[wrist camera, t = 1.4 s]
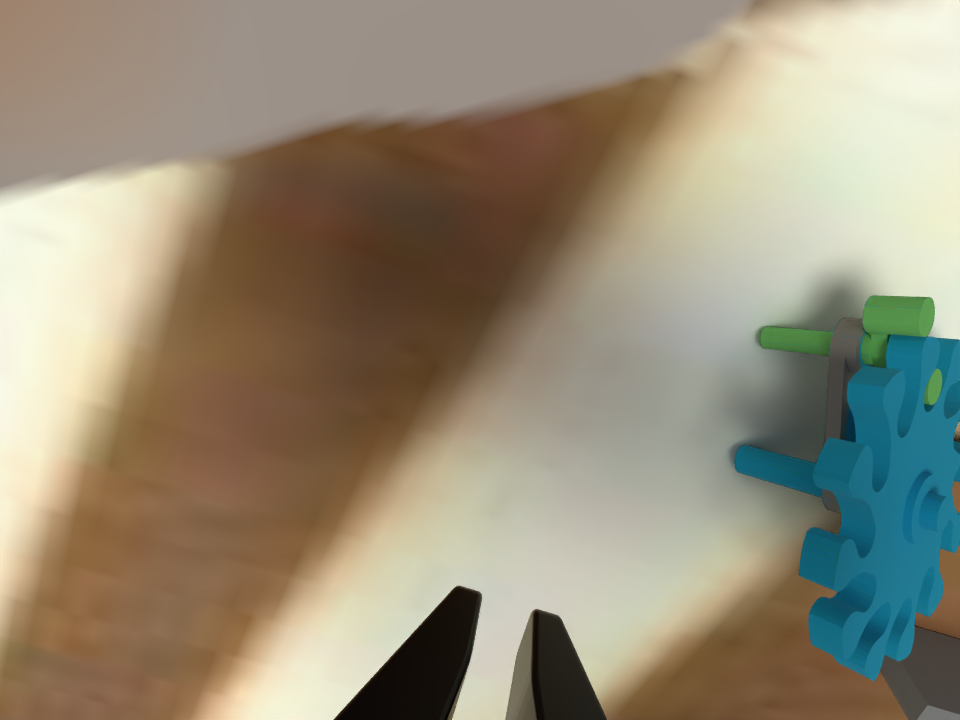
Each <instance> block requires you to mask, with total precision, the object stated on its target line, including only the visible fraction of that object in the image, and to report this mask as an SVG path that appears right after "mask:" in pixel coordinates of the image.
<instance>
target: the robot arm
mask: <svg viewBox="0 0 960 720" xmlns="http://www.w3.org/2000/svg"><path fill="white" fill-rule="evenodd" d="M481 601H482V594H481V593H480V592H479V591H476V590H473V589H469V588H466V587H463V586H456V587H455V588H454V589H453V590H452V591H451V592H450V593H449V594H448V595H447V596H446V597H445V598H444V600H443V601H442V602H441V603H440V604H439V605H438V606H437V607H436V608H435V609H434V610H433V612H432V613H431V614H430V615H429V616H428V617H427V618H426V619H425V620H424V621H423V623H422V624H421V625H420V626H419V627H418V628H417V629H416V630H415V631H414V632H413V633H412V635H411V636H410V637H409V638H408V639H407V640H406V641H405V642H404V643H403V644H402V645H401V647H400V648H399V649H398V650H397V651H396V652H395V653H394V654H393V655H392V656H391V657H390V659H389V660H388V661H387V662H386V663H385V664H384V665H383V666H382V667H381V668H380V669H379V671H378V672H377V673H376V674H375V675H374V676H373V677H372V678H371V679H370V680H369V681H368V683H367V684H366V685H365V686H364V687H363V688H362V689H361V690H360V691H359V692H358V694H357V695H356V696H355V697H354V698H353V699H352V700H351V701H350V702H349V703H348V704H347V706H346V707H345V708H344V709H343V710H342V711H341V712H340V713H339V714H338V715H337V716H336V718H335V719H334V720H452V717H453V714H454V711H455V708H456V704H457V701H458V698H459V695H460V692H461V688H462V685H463V682H464V679H465V675H466V672H467V669H468V666H469V663H470V659H471V655H472V651H473V646H474V640H475V635H476V629H477V623H478V618H479V612H480V607H481ZM505 720H607V718H606V716H605V714H604V712H603V710H602V707H601V705H600V703H599V701H598V699H597V696H596V694H595V692H594V690H593V688H592V685H591V683H590V681H589V679H588V677H587V674H586V672H585V670H584V668H583V665H582V663H581V661H580V659H579V657H578V654H577V652H576V650H575V648H574V646H573V643H572V641H571V639H570V637H569V635H568V632H567V630H566V628H565V626H564V624H563V621H562V619H561V618H560V617H559V616H558V615H555V614H552V613H549V612H546V611H542V610H539V609H535V610H533V611H532V613H531V615H530V618H529V620H528V623H527V626H526V629H525V632H524V635H523V638H522V640H521V643H520V646H519V649H518V653H517V657H516V661H515V667H514V673H513V679H512V684H511V690H510V696H509V702H508V708H507V714H506V719H505Z"/></svg>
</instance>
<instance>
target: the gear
mask: <svg viewBox="0 0 960 720" xmlns="http://www.w3.org/2000/svg"><path fill="white" fill-rule="evenodd" d="M934 315H935V307H934V302H933V299H932V298H930V297H904V296H871V297H869V299H868V300H867V302H866V304H865V307H864V310H863V319H857V318H843V319H842V320H840V321H839V323H838V324H837V325H836V327H835V329H834V332H828V331H815V330H803V329H790V328H778V327H765V328H764V329H763V330H762V333H761V336H760V343H761V346H762V347H763V348H765V349H774V350H783V351H792V352H801V353H810V354H819V355H828V356H829V375H828V395H827V414H826V433H825V445H824V447H823V449H822V451H821V453H820V455H819V457H818V460H817V462H816V463H814V462H810V461H806V460H802V459H798V458H794V457H790V456H786V455H782V454H778V453H774V452H771V451H767V450H763V449H759V448H755V447H751V446H747V445H743V446H741V447H740V448H739V450H738V451H737V453H736V456H735V462H734V463H735V469H736V471H737V472H739V473H742V474H745V475H749V476H752V477H755V478H759V479H762V480H765V481H769V482H772V483H775V484H779V485H782V486H785V487H789V488H792V489H795V490H799V491H802V492H805V493H809V494H812V495H815V496H819V497H822V498H823V503H824V506H825V507H826V508H827V509H828V510H832V511H835V512H838V513H841V517H842V521H841V528H840V531H839V534H838V535H837V534H834V533H831V532H828V531H825V530H822V529H819V528H816V527H813V528H811V529H809V530H808V531H807V533H806V537H805V540H804V543H803V548H802V553H801V559H800V567H799V575H800V576H801V577H803V578H805V579H808V580H810V581H812V582H815V583H817V584H820V585H822V586H824V587H827V588H829V589H832V590H834V591H837V594H836V595H835V596H834V597H833V598H826V597H821V598H819V599H818V600H817V601H816V602H815V603H814V604H813V606H812V608H811V610H810V612H809V620H808V622H809V634H810V639H811V644H812V645H813V646H815V647H817V648H819V649H821V650H823V651H825V652H827V653H829V654H831V655H833V656H834V658H835V660H836V661H837V662H838V663H840V664H842V665H843V666H845V667H847V668H849V669H851V670H853V671H855V672H857V673H859V674H861V675H863V676H865V677H867V678H869V679H871V680H873V681H875V679H876V678H877V676H878V674H879V672H880V669H881V666H882V663H883V658H884V655H886V656H888V657H890V658H892V659H894V660H897V661H901V660H903V659H905V658H906V657H907V656H909V655H910V653H911V650H912V646H913V642H914V625H915V614H916V612H918V613H920V614H923V615H925V616H928V617H929V616H930V615H931V614H932V613H933V612H934V610H935V609H936V607H937V606H938V604H939V602H940V600H941V598H942V595H943V580H942V578H941V575H940V568H939V556H940V549H943V550H947V551H950V552H953V553H955V552H956V550H957V548H958V546H959V544H960V513H957V511H956V509H955V507H954V502H953V496H952V485H953V481H957V482H960V442H956V441H954V433H955V429H956V426H957V424H958V422H960V380H959V379H960V340H958V339H945V338H934V337H926V336H927V335H928V334H929V332H930V330H931V328H932V325H933V321H934ZM874 366H876V367H874Z"/></svg>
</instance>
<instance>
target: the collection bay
mask: <svg viewBox="0 0 960 720" xmlns="http://www.w3.org/2000/svg"><path fill="white" fill-rule="evenodd" d="M880 671H881V673H882V675H883V677H884V678H885V680H886V682H887V683H888V685H889V687H890V688H891V690H892V692H893V694H894V695H895V697H896V699H897V700H898V702H899V704H900V706H901V707H902V709H903V711H904V712H905V714H906V716H907V718H908V719H909V720H960V639H957V638H953V637H950V636H947V635H943V634H940V633H936V632H933V631H929V630H926V629H923V628H919V627H916V626H914V642H913V646H912V650H911V653H910V655H909V656H907V657H906V658H905V659H903V660H901V661H897V660H894V659H892V658H890V657H888V656H886V655H884V658H883V663H882V666H881V669H880Z"/></svg>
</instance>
